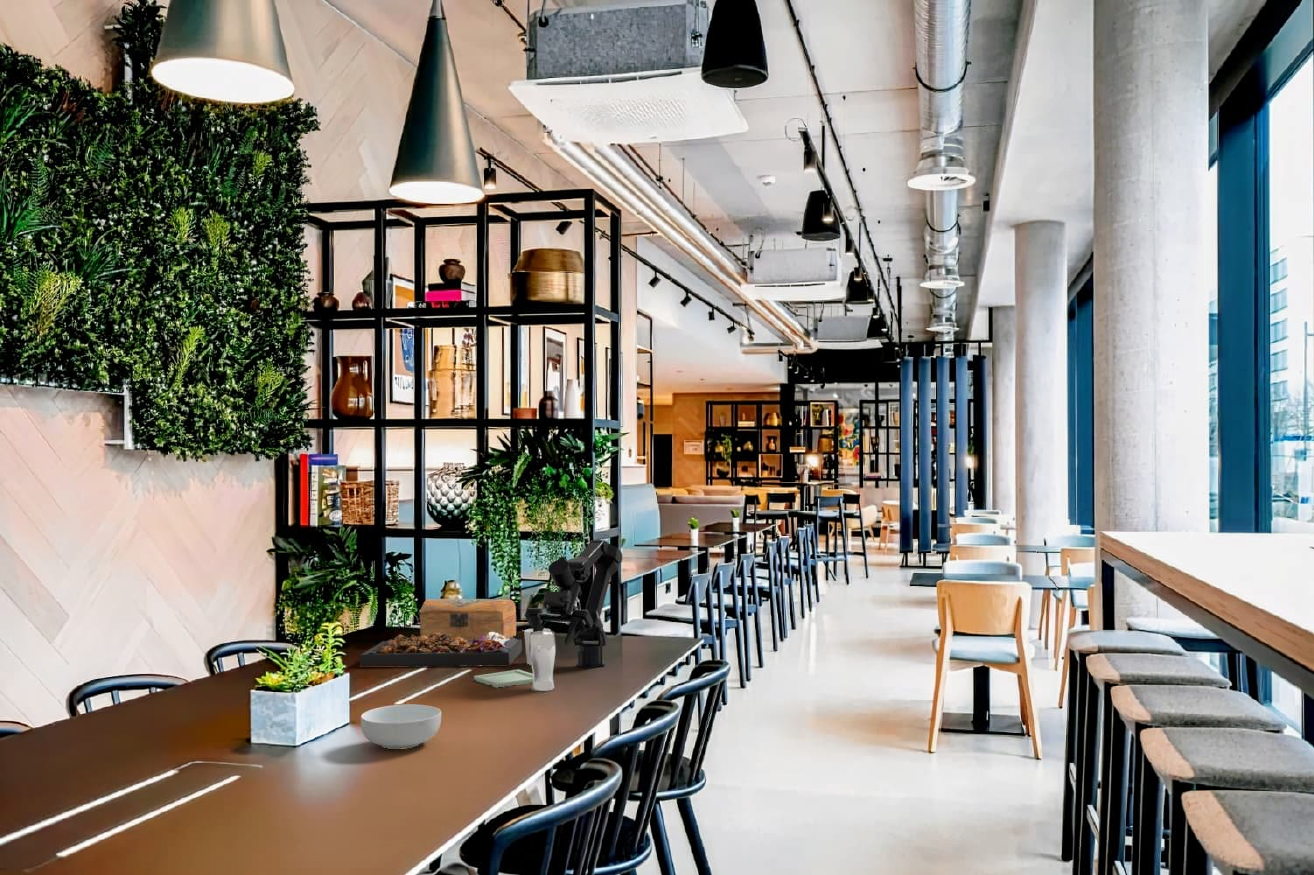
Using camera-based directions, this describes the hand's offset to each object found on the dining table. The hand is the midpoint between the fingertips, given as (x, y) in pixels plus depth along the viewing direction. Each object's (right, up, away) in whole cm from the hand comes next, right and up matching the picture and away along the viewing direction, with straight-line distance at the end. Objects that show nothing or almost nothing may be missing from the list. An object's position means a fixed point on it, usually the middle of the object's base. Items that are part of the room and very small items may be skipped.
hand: (550, 643), depth 291 cm
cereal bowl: (-26, -11, -59) cm, 66 cm away
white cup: (-7, -12, +32) cm, 35 cm away
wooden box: (-36, -14, +80) cm, 89 cm away
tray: (-12, -12, +7) cm, 18 cm away
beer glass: (-1, -11, -5) cm, 12 cm away
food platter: (-37, -14, +42) cm, 58 cm away
